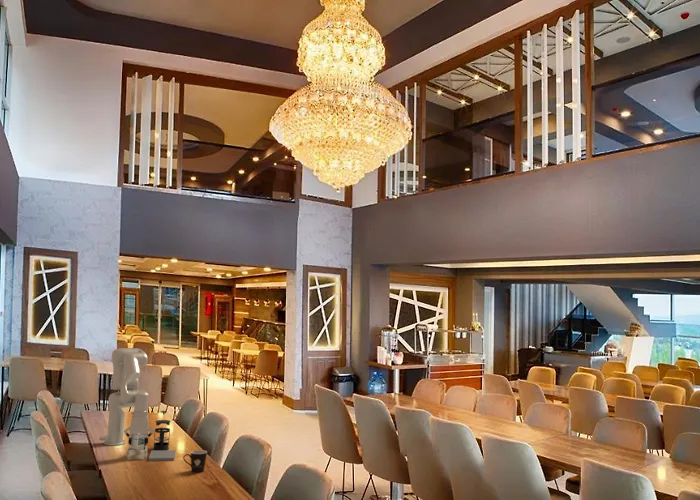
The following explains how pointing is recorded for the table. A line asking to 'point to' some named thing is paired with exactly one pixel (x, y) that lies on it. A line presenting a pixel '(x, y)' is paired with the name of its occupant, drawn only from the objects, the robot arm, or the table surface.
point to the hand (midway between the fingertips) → (138, 444)
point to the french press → (162, 435)
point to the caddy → (136, 454)
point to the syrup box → (138, 442)
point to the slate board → (162, 455)
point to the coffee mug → (197, 460)
